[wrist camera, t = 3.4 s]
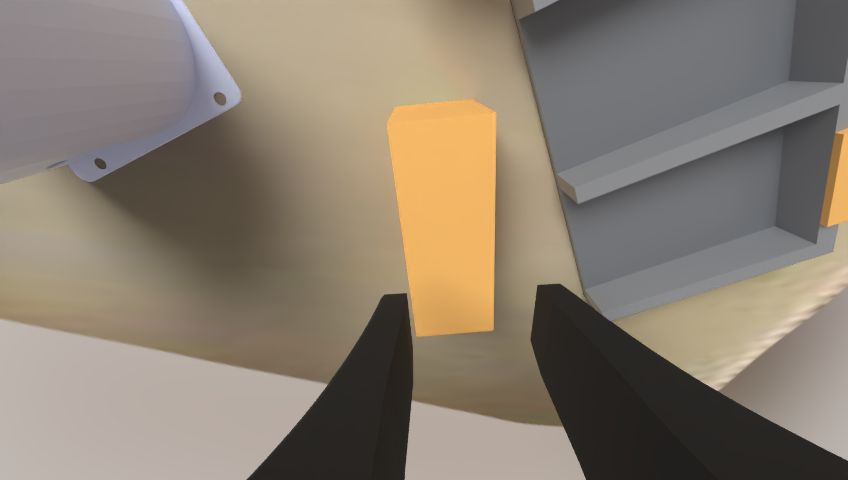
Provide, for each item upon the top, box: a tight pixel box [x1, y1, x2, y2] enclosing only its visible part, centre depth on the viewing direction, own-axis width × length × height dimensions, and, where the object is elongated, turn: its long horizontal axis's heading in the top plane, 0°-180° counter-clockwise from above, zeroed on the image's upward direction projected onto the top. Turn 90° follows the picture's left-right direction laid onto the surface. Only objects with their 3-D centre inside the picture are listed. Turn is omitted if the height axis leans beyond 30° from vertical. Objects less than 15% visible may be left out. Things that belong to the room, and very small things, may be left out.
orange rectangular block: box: [387, 99, 496, 337], centre depth 14 cm, size 9×3×5 cm, turn 5°
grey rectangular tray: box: [511, 0, 848, 321], centre depth 14 cm, size 11×16×3 cm
